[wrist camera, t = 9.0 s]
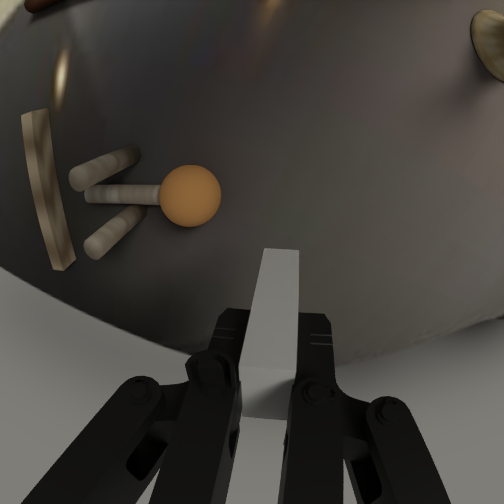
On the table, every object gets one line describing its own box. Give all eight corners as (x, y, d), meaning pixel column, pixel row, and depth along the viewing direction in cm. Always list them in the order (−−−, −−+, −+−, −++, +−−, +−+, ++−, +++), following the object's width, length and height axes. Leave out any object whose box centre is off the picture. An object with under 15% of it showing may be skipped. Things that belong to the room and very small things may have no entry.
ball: (182, 176, 21) (230, 159, 25) (142, 172, 24) (188, 157, 28) (193, 243, 24) (236, 218, 28) (153, 229, 27) (195, 209, 31)
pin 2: (129, 200, 30) (81, 238, 22) (146, 200, 30) (99, 238, 22) (132, 218, 31) (86, 258, 23) (148, 218, 31) (104, 260, 23)
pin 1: (123, 145, 27) (66, 168, 19) (139, 144, 27) (85, 165, 19) (125, 164, 28) (71, 192, 20) (141, 163, 28) (89, 191, 20)
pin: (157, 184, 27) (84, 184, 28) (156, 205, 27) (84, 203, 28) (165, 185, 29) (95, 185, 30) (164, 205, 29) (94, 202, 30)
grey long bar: (38, 111, 26) (21, 115, 23) (48, 107, 25) (31, 111, 23) (66, 258, 35) (53, 269, 33) (76, 259, 35) (63, 270, 32)
